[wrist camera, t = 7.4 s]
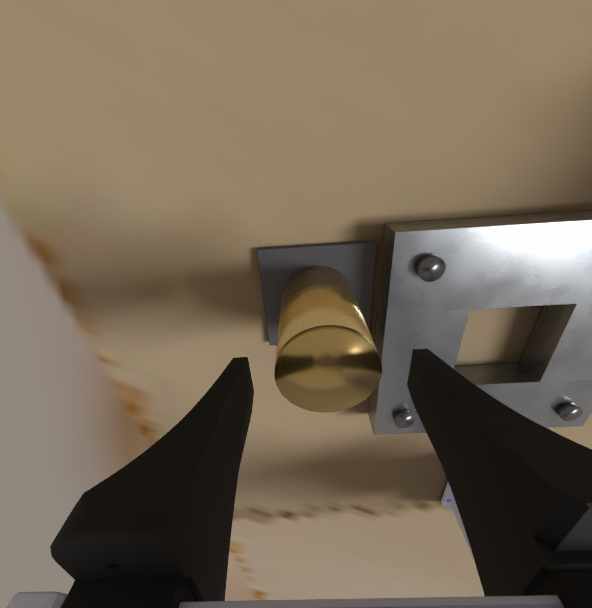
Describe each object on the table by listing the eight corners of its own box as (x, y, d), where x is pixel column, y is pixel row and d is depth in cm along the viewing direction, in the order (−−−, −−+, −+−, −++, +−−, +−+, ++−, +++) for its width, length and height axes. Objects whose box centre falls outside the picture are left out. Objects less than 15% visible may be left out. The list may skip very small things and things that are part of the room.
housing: (561, 405, 24) (588, 431, 21) (368, 413, 24) (375, 440, 22) (671, 205, 16) (732, 214, 14) (384, 223, 16) (398, 235, 14)
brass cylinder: (353, 325, 19) (380, 407, 13) (286, 332, 20) (282, 416, 13) (352, 261, 17) (384, 324, 11) (276, 270, 17) (266, 336, 11)
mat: (367, 337, 20) (369, 340, 20) (270, 341, 20) (269, 345, 20) (374, 240, 17) (376, 242, 17) (257, 247, 17) (257, 249, 17)
